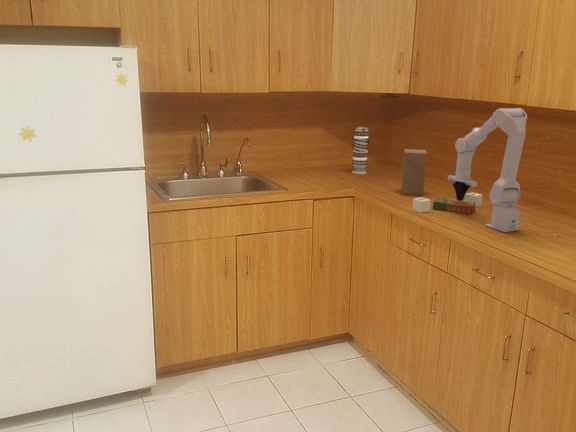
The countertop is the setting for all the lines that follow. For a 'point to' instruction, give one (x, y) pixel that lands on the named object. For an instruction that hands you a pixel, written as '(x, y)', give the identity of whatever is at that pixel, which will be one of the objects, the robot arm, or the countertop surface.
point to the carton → (454, 205)
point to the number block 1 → (421, 205)
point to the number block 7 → (474, 198)
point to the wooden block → (413, 172)
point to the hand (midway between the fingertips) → (459, 200)
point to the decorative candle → (360, 150)
